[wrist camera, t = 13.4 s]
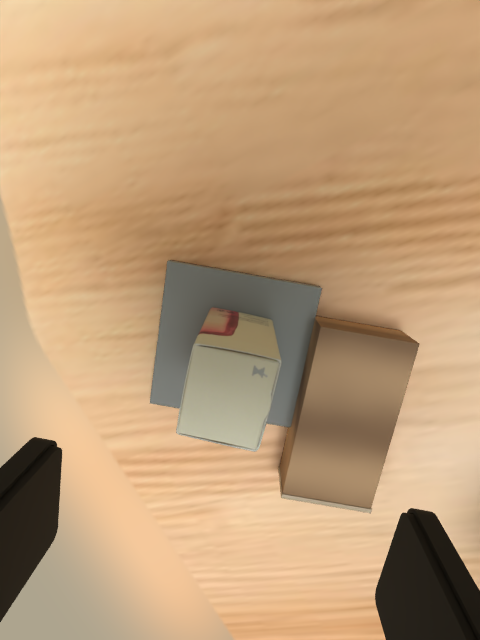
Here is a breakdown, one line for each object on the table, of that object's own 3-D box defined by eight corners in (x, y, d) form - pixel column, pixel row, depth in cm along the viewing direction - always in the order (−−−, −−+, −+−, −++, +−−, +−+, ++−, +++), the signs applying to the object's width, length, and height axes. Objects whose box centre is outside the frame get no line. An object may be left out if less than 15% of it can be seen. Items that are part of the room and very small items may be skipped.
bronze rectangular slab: (312, 315, 26) (320, 327, 23) (401, 330, 26) (420, 344, 23) (278, 469, 29) (281, 498, 26) (358, 483, 29) (370, 513, 26)
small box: (210, 304, 25) (191, 339, 18) (274, 319, 26) (283, 359, 18) (195, 375, 27) (172, 436, 19) (257, 388, 27) (259, 455, 19)
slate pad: (170, 260, 26) (167, 261, 25) (319, 286, 26) (321, 288, 25) (152, 398, 28) (149, 403, 27) (289, 421, 28) (290, 427, 27)
